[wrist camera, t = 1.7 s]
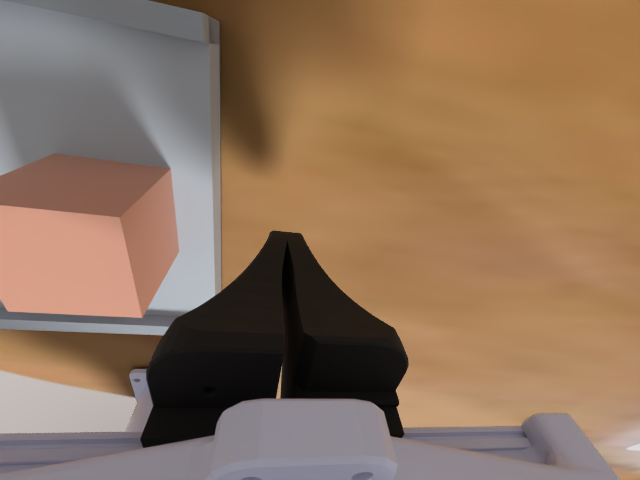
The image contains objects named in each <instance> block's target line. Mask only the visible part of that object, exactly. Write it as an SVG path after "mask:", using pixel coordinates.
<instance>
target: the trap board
mask: <svg viewBox="0 0 640 480" xmlns="http://www.w3.org/2000/svg"><path fill="white" fill-rule="evenodd" d="M54 153H56V154H63V155H71V156H78V157H86V158H93V159H101V160H108V161H116V162H123V163H130V164H138V165H145V166H153V167H160V168H168V169H171V176H172V185H173V195H174V205H175V214H176V224H177V234H178V243H179V253H178V255H177V257H176V258H175V260H174V262H173V264H172V266H171V267H170V269H169V271H168V273H167V275H166V276H165V278H164V280H163V282H162V283H161V285H160V287H159V289H158V291H157V292H156V294H155V296H154V298H153V299H152V301H151V303H150V305H149V307H148V308H147V310H146V312H145V314H144V315H143V317H142V318H133V317H112V316H91V315H70V314H49V313H28V312H8V311H7V310H6V308H5V306H4V304H3V303H2V301H1V299H0V329H12V330H38V331H64V332H91V333H117V334H143V335H164V334H165V332H166V331H167V329H168V328H169V327H170V325H171V324H172V322H173V321H174V320H175V319H176V318H177V317H179V316H182V315H183V314H185V313H187V312H189V311H191V310H193V309H195V308H197V307H198V306H200V305H202V304H203V303H205V302H206V301H208V300H209V299H211V298H212V297H214V296H215V295H217V294H218V293H219V292H221V291H222V220H221V66H220V21H218V20H216V19H214V18H212V17H210V16H208V15H206V14H204V13H202V12H198V11H193V10H189V9H185V8H180V7H176V6H171V5H167V4H163V3H158V2H154V1H149V0H0V176H1V175H3V174H6V173H8V172H10V171H13V170H15V169H18V168H20V167H23V166H25V165H27V164H30V163H32V162H35V161H37V160H39V159H42V158H44V157H47V156H49V155H52V154H54Z"/></svg>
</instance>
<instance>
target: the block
mask: <svg viewBox="0 0 640 480" xmlns="http://www.w3.org/2000/svg"><path fill="white" fill-rule="evenodd" d="M178 253H179V243H178V234H177V224H176V214H175V205H174V195H173V185H172V176H171V169H168V168H160V167H153V166H145V165H138V164H130V163H123V162H116V161H108V160H101V159H93V158H86V157H78V156H71V155H63V154H56V153H54V154H52V155H49V156H47V157H44V158H42V159H39V160H37V161H35V162H32V163H30V164H27V165H25V166H23V167H20V168H18V169H15V170H13V171H10V172H8V173H6V174H3V175H1V176H0V299H1V301H2V303H3V304H4V306H5V308H6V310H7V311H8V312H28V313H49V314H70V315H91V316H112V317H133V318H142V317H143V315H144V314H145V312H146V310H147V308H148V307H149V305H150V303H151V301H152V299H153V298H154V296H155V294H156V292H157V291H158V289H159V287H160V285H161V283H162V282H163V280H164V278H165V276H166V275H167V273H168V271H169V269H170V267H171V266H172V264H173V262H174V260H175V258H176V257H177V255H178Z"/></svg>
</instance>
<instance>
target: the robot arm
mask: <svg viewBox="0 0 640 480" xmlns="http://www.w3.org/2000/svg"><path fill="white" fill-rule="evenodd" d="M281 366H282V379H281V398H280V399H276V395H277V389H278V383H279V378H280V372H281ZM407 368H408V357H407V355H406V352H405V350H404V347H403V345H402V342H401V340H400V338H399V336H398V334H397V333H396V330H395V329H394V328H393V327H391V326H389V325H388V324H386V323H384V322H383V321H381V320H380V319H378V318H376V317H375V316H373V315H372V314H370V313H369V312H367V311H366V310H365V309H363V308H362V307H360V306H359V305H358V304H357V303H355V302H354V301H353V300H352V299H351V298H349V297H348V296H347V295H346V294H345V293H344V292H343V291H342V290H341V289H340V288H339V287H338V286H337V285H336V284H335V283H334V282H333V281H332V280H331V279H330V278H329V277H328V275H327V274H326V273H325V271H324V270H323V269H322V268H321V266H320V265H319V263H318V262H317V260H316V259H315V257H314V256H313V254H312V253H311V251H310V249H309V247H308V246H307V244H306V242H305V240H304V238H303V236H302V235H301V233H291V232H282V231H272V232H270V235H269V237H268V239H267V241H266V243H265V245H264V246H263V248H262V249H261V251H260V252H259V254H258V255H257V256H256V258H255V259H254V260H253V261H252V262H251V264H250V265H249V266H248V267H247V268H246V269H245V270H244V271H243V273H242V274H241V275H239V276H238V277H237V278H236V279H235V280H234V281H233V282H232V283H231V284H229V285H228V286H227V287H226V288H225V289H223V290H222V291H221V292H219V293H218V294H217V295H215V296H214V297H212V298H211V299H209V300H208V301H206V302H205V303H203V304H202V305H200V306H198V307H197V308H195V309H193V310H191V311H189V312H187V313H185V314H183V315H182V316H179V317H177V318H176V319H175V320H174V321H173V322H172V324H171V325H170V327H169V328H168V329H167V331H166V332H165V334H164V336H163V337H162V339H161V340H160V342H159V344H158V346H157V348H156V350H155V352H154V354H153V356H152V359H151V361H150V363H149V366H148V368H147V369H133V370H132V371H131V372H130V374H129V377H130V381H131V384H132V387H133V391H134V394H135V397H136V400H137V405H136V407H135V409H134V412H133V414H132V416H131V418H130V421H129V423H128V425H127V428H126V430H125V432H90V433H89V432H83V433H15V434H0V480H620V479H619V478H618V476H617V475H616V474H615V473H614V471H613V470H612V469H611V467H610V466H609V465H608V464H607V462H606V461H605V460H604V458H603V457H602V456H601V455H600V453H599V452H598V451H597V449H596V448H595V447H594V446H593V444H592V443H591V442H590V440H589V439H588V438H587V437H586V435H585V434H584V433H583V431H582V430H581V429H580V428H579V426H578V425H577V424H576V422H575V421H574V420H573V419H572V417H571V416H570V415H569V414H567V413H539V414H535V415H532V416H530V417H529V418H527V419H526V420H525V421H524V422H523V423H522V425H521V426H493V427H424V428H403V427H402V424H401V421H400V417H399V414H398V411H397V408H396V406H398V405H399V400H398V396H397V393H396V389H397V387H398V385H399V383H400V382H401V380H402V378H403V376H404V375H405V373H406V371H407Z"/></svg>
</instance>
